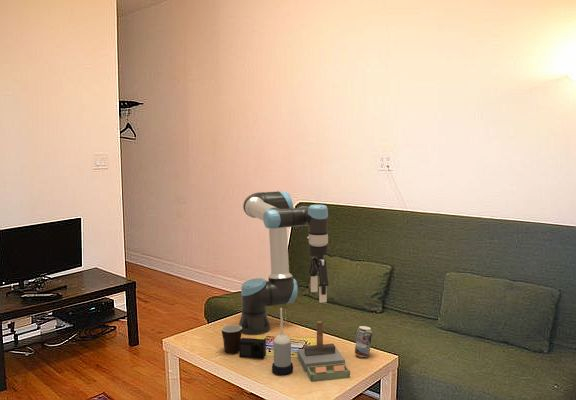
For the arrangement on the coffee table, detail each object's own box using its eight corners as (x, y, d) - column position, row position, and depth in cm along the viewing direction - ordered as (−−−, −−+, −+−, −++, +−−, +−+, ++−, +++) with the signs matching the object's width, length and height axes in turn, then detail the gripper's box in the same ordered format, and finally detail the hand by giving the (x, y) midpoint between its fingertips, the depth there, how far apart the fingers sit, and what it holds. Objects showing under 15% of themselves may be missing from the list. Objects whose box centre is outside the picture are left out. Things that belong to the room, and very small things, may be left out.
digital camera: (238, 358, 209) (237, 342, 208) (242, 353, 215) (241, 337, 214) (262, 360, 207) (262, 344, 206) (265, 355, 212) (265, 339, 212)
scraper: (304, 353, 205) (304, 322, 204) (333, 350, 207) (333, 319, 206) (306, 356, 202) (305, 324, 201) (335, 353, 204) (335, 322, 203)
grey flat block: (297, 357, 209) (297, 349, 209) (334, 353, 212) (334, 345, 212) (305, 372, 196) (305, 363, 195) (345, 368, 199) (345, 359, 198)
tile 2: (333, 365, 191) (334, 371, 190) (344, 364, 192) (344, 370, 191) (331, 367, 195) (332, 373, 194) (341, 366, 195) (342, 372, 194)
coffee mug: (239, 356, 212) (238, 332, 211) (219, 354, 213) (218, 331, 212) (246, 345, 223) (246, 322, 222) (228, 343, 225) (227, 321, 224)
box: (306, 372, 195) (306, 366, 195) (344, 369, 198) (344, 362, 198) (311, 381, 189) (311, 374, 188) (350, 377, 191) (349, 370, 191)
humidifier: (275, 365, 202) (275, 304, 199) (295, 368, 200) (295, 306, 197) (268, 374, 195) (267, 311, 192) (289, 377, 192) (288, 313, 189)
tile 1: (315, 367, 189) (316, 372, 188) (325, 366, 190) (326, 371, 189) (313, 370, 193) (314, 375, 192) (323, 369, 194) (324, 374, 192)
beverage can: (351, 356, 210) (351, 328, 209) (362, 350, 216) (362, 323, 214) (364, 360, 206) (364, 331, 205) (374, 354, 211) (374, 326, 210)
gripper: (301, 238, 211) (302, 288, 214) (317, 251, 187) (317, 307, 190) (319, 237, 213) (319, 287, 215) (336, 250, 189) (336, 306, 191)
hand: (318, 296), depth 203 cm, fingers open, 13 cm apart
